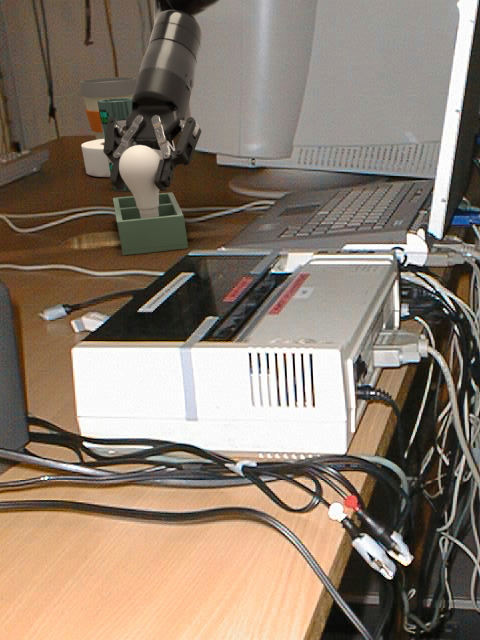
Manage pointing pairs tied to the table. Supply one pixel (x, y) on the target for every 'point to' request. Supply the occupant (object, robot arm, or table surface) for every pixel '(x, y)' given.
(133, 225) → the rack
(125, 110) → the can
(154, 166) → the lightbulb
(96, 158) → the tape roll
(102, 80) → the reusable coffee cup
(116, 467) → the table surface
